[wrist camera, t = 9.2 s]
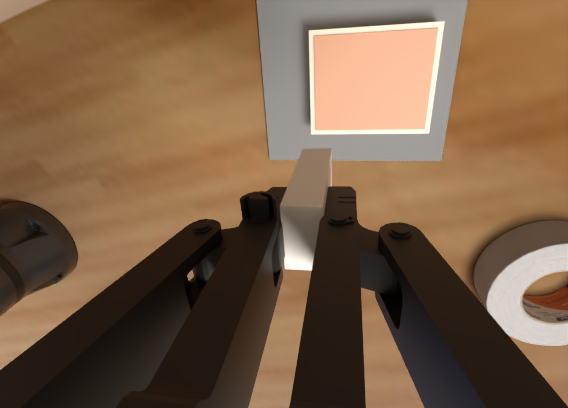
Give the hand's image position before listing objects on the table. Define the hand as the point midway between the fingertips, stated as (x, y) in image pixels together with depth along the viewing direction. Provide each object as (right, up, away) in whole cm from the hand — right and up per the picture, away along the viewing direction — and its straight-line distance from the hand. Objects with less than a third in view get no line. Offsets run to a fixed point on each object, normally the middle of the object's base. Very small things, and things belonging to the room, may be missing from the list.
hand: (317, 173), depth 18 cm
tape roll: (+31, -10, +25) cm, 41 cm away
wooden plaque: (+1, +11, +17) cm, 21 cm away
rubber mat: (+6, +12, +18) cm, 22 cm away
